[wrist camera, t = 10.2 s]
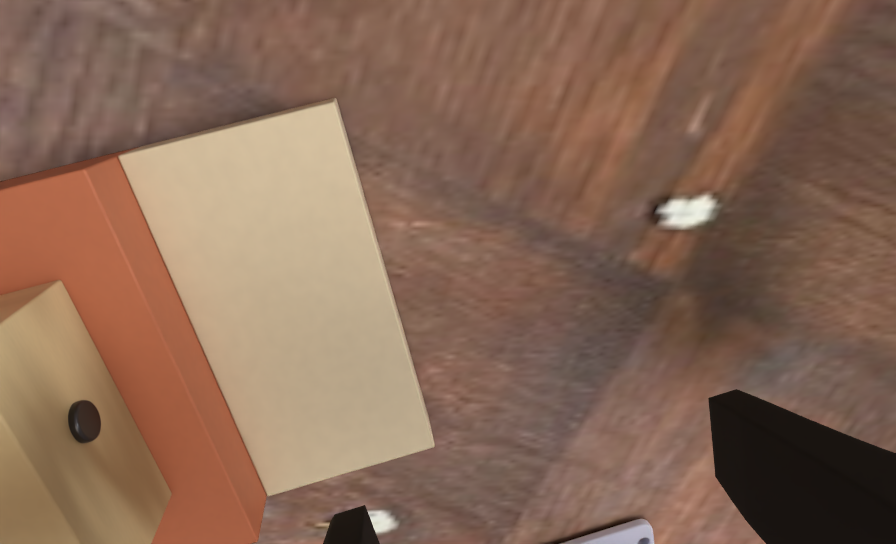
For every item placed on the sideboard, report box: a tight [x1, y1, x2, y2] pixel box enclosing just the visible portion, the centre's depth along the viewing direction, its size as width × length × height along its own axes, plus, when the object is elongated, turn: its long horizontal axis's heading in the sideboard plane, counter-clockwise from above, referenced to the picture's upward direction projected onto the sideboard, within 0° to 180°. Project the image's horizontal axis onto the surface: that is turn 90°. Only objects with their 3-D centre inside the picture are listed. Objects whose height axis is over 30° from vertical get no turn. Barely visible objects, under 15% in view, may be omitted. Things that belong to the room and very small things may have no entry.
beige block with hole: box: [0, 280, 172, 544], centre depth 14 cm, size 7×3×4 cm, turn 13°
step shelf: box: [0, 98, 435, 544], centre depth 17 cm, size 12×18×6 cm, turn 103°
